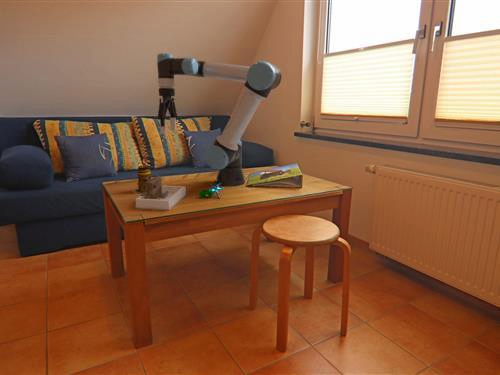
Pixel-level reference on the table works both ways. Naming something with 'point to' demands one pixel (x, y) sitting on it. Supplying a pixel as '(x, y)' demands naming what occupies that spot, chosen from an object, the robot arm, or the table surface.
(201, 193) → the stick construction toy
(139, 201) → the shallow white tray
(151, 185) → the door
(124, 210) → the table surface
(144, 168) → the condiment
